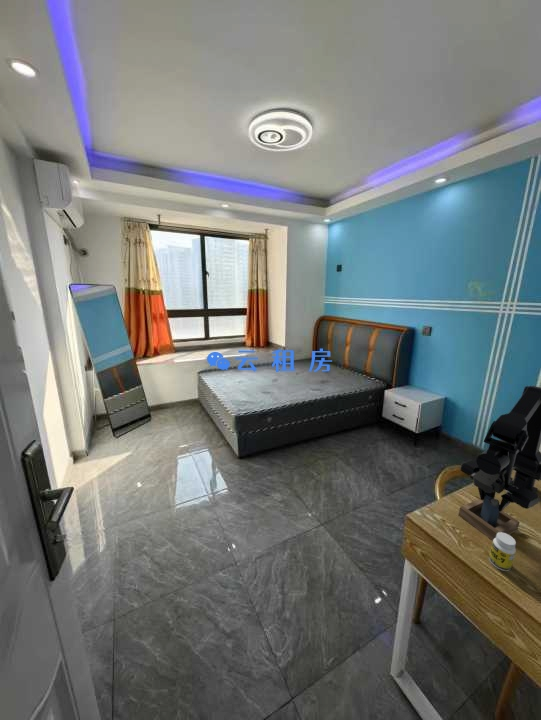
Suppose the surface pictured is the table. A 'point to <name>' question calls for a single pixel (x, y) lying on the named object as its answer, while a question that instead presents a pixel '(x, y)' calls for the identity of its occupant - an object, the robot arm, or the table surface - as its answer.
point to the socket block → (474, 517)
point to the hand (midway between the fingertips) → (491, 505)
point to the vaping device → (490, 509)
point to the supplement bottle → (502, 551)
